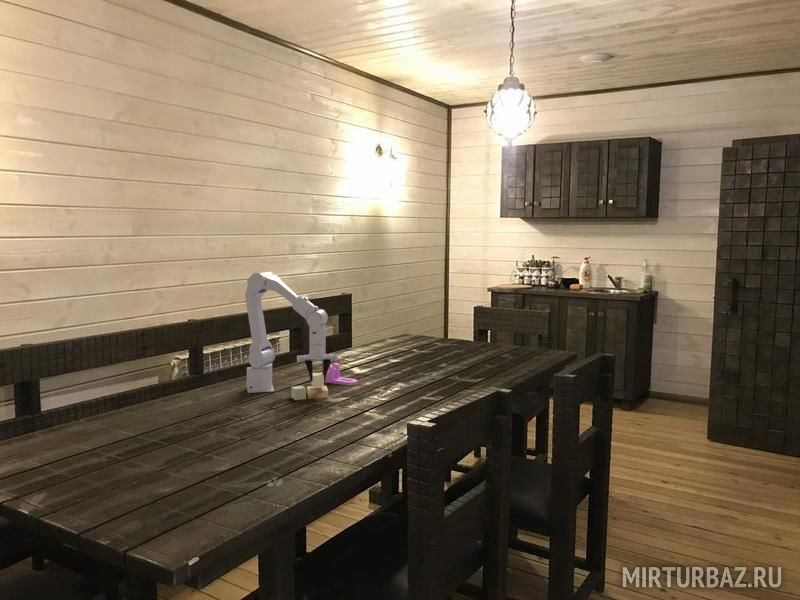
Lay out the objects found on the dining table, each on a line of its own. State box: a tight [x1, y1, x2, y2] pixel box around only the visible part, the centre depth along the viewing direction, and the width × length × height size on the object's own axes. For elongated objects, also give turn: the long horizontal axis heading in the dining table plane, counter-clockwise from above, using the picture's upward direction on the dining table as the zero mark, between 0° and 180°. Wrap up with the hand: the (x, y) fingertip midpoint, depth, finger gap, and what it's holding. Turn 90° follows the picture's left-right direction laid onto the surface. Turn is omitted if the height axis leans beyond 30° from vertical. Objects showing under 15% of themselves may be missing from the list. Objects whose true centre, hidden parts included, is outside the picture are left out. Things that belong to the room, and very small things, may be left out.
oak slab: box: [306, 385, 329, 400], centre depth 231 cm, size 7×7×3 cm
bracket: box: [324, 362, 358, 386], centre depth 250 cm, size 13×6×7 cm, turn 62°
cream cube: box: [310, 372, 325, 387], centre depth 230 cm, size 4×4×4 cm
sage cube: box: [290, 385, 307, 401], centre depth 227 cm, size 4×4×4 cm
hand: (317, 380), depth 230 cm, fingers closed on cream cube, 4 cm apart
